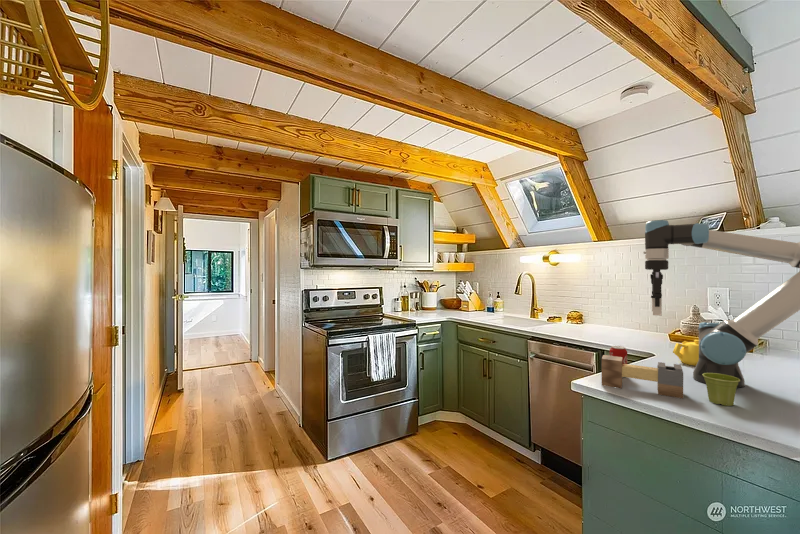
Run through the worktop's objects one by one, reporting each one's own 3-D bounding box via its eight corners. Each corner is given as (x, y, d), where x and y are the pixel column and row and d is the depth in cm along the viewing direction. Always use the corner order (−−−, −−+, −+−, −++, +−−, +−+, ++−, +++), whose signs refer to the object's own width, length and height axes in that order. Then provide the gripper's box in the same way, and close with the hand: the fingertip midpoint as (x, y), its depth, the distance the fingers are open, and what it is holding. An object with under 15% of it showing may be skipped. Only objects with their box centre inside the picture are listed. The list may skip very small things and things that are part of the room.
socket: (622, 383, 139) (622, 357, 139) (621, 388, 133) (621, 361, 133) (603, 380, 142) (603, 354, 142) (601, 385, 136) (601, 358, 136)
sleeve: (681, 392, 129) (681, 364, 128) (683, 398, 123) (683, 369, 123) (657, 388, 132) (657, 361, 132) (658, 394, 127) (658, 366, 127)
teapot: (706, 358, 176) (706, 336, 176) (733, 369, 158) (733, 344, 158) (660, 356, 179) (660, 334, 179) (682, 367, 161) (682, 342, 161)
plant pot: (694, 398, 123) (694, 372, 123) (720, 397, 124) (720, 372, 124) (721, 408, 114) (721, 381, 114) (748, 407, 115) (748, 380, 115)
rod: (661, 379, 131) (661, 368, 131) (661, 382, 127) (661, 371, 127) (610, 372, 140) (610, 361, 140) (609, 374, 136) (609, 364, 136)
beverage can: (630, 378, 144) (630, 349, 144) (612, 377, 146) (612, 348, 146) (623, 374, 151) (623, 345, 151) (607, 373, 152) (607, 345, 152)
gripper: (644, 260, 154) (644, 309, 154) (645, 259, 134) (645, 316, 134) (666, 260, 150) (666, 310, 150) (670, 259, 129) (670, 317, 129)
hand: (656, 313), depth 142 cm, fingers open, 13 cm apart
